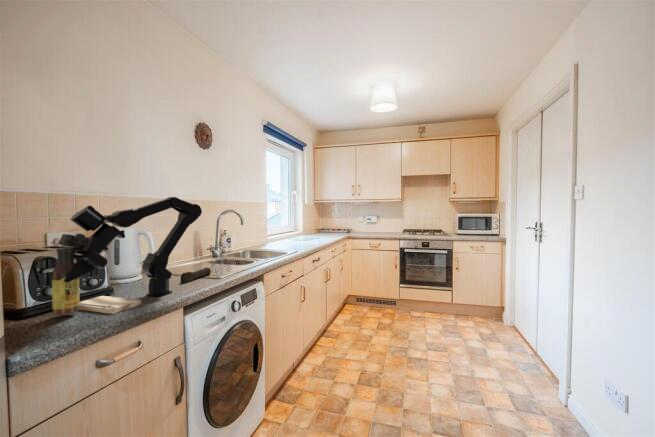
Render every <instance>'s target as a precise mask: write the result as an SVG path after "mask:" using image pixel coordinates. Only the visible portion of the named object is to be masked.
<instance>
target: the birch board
mask: <svg viewBox="0 0 655 437" xmlns="http://www.w3.org/2000/svg"><path fill="white" fill-rule="evenodd" d="M140 305H142V299H139V298H138V299H136V298H128V297H127V298H125V297H118V296H109V295H108V296H107V295H100V296H95V297H93V298H89V299H85V300H81V301H79V309H78V310H77V311H79V310H80V311H88V312H96V313H102V314H112V315H114V314H117V313H121V312H123V311H126V310H129V309H132V308H134V307H137V306H140Z"/></svg>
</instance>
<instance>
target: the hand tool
mask: <svg viewBox="0 0 655 437" xmlns="http://www.w3.org/2000/svg"><path fill="white" fill-rule="evenodd" d="M207 274H210V275H211V269H210V267H208V266H207V267H204V268H202V269H197V270H196V271H186V272H183V273H181V275H180V284H186V283H191V282H192V281H193V280H196V279H198V277H199V278H202V277H205V276H204V275H206V276H208V275H207ZM201 276H202V277H201Z"/></svg>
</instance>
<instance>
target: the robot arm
mask: <svg viewBox="0 0 655 437" xmlns="http://www.w3.org/2000/svg"><path fill="white" fill-rule="evenodd" d="M169 209H173V210H174V211H176V212H178V216H177V221H176V222H175V224H174V225H173V227H172V228H171V230H170V231H169V233H168V234H167V235H166V237H165V238H164V240H163V241H162V243H161V244H160V245H159V247H158V248H157V250H156V251H155V252H154V253H152V252H148V254H146V257H145V258H144V260H142V264H141V270H142V272H143V273H144V274H145V275H146V277H147V278H148V279H149V280H148V293H146V294H145V295H146V296H148V297H149V296H150V297H162V296H165V295H168V294H171V293H173V290H170V279H171V277H172V275H173V273H172V271H170V270H168V269H167V267H168V264H169V258H170V255H171V254H172V253H173V250H174V249H175V248H176V246H177V244H179V241H180V240H181V238H182V237H183V235H184V234H185V232H186V231H187V229H188V228H189V226H190V225H192V224H193V223H195V222H196V220H198V218H199V217H200V216H202V213H203V212H202V211H203V210H202V208H201V206H200V205H199V204H197V203H191V202H188V201H186V200H184V199H183V200H182V199H180V198H178V197H176V196H170V197H169V196H168V197H167V198H165V199H162V200H158V201H155V202H152V203H149V204H146V205H143V206H141V207H140V206H139V207H136V208H130V209H121V210H116V211H113V212H112V213H111V214H109V215H103V214H102V213H100V212H99V211H98V210H96V209H95V208H94V206H92V205H86V207H84V208H82V209H81V210H79V211H77V212H76V213H74V214H73V215H72V216H71V217H70V221H71V222H72V223H74V224H75V225H77V226H79V227H80V228H82V229H83V230H84V231H85V232H89V231H92V232H94V233H92V234H91V235H90V236H86V235H85V234H83V233H76V234H75V235H73V234H68V233H63V234H62V235H61V236H60V238H59V239H60V240H59V241H58V243H57V244H58V245H61V246H63V245H64V246H67V247H73V248H74V263H75V266H74V268H73V269H72V270H71V271H70V273H69V274H68V275H67V276H66V278H65V279H64V282H66V283H68V282H70V281H72V280H74V279H76V278H78V277H79V278H80V277H82V276H85V275H87V274H89V273H92V272H93V271H96V270H98V269H102V270H103V269H104V268H106V266H108V264H109V263H108V262H109V261H108V259H107V258H106V257H104V256H103V255H102V253H103V252H104V251H105V252H107V251H108V250H109V247H108V246H109V245H110V244H111V243H112V242H113V241H114V240H115V239H116V238H118V239H125V238H126V235H125V230H120V229H118V228H129V227H131V226H134V225H135V224H137V223H138V222H140V221H142V219H144V218H146V217H149V216H153V215H155V214H158V213H160V212H163V211H167V210H169ZM109 224H112V225H109Z"/></svg>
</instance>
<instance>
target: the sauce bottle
mask: <svg viewBox="0 0 655 437" xmlns="http://www.w3.org/2000/svg"><path fill="white" fill-rule="evenodd" d="M56 254H57V261H56V262H57V264H56V265H55V266H54V268H53V270H52V276H51V278H52V280H51V299H52V300H51V303H52V304H51V308H52V313H53V315H55V316H64V315H68V314H69V315H70V314H73V313H76V312H78V311H79V310H78V309H79V302H80V277H78V278H76V279H74V280H72V281H70V282H68V283H66V282H64V279H65V278H66V276H67V275H68V274H69V273H70V271H71V270H72V269H73V268H74V266H75V263H74V248H73V247H71V246H67V247H57V248H56Z"/></svg>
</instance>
